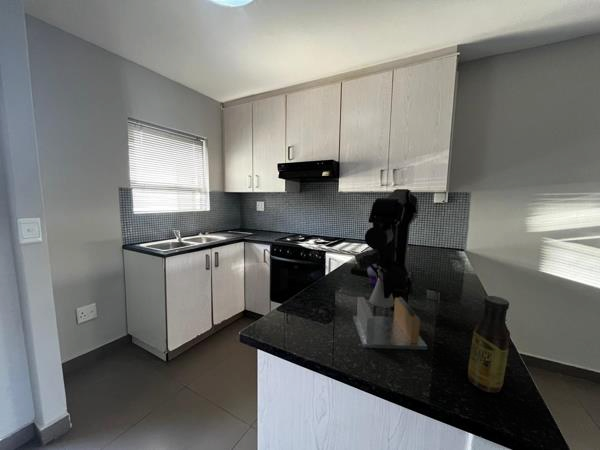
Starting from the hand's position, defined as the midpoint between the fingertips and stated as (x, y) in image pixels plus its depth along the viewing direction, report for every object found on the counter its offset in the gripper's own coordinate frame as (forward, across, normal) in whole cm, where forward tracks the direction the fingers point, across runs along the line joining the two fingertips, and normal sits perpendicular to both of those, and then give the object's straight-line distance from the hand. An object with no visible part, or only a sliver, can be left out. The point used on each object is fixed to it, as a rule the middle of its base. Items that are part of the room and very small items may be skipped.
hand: (383, 294), depth 74 cm
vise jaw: (+11, 0, +7) cm, 13 cm away
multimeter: (+14, -56, +11) cm, 59 cm away
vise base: (+12, 0, +1) cm, 12 cm away
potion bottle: (+13, -41, +9) cm, 44 cm away
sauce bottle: (+12, +20, +17) cm, 29 cm away
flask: (+3, 0, 0) cm, 3 cm away
